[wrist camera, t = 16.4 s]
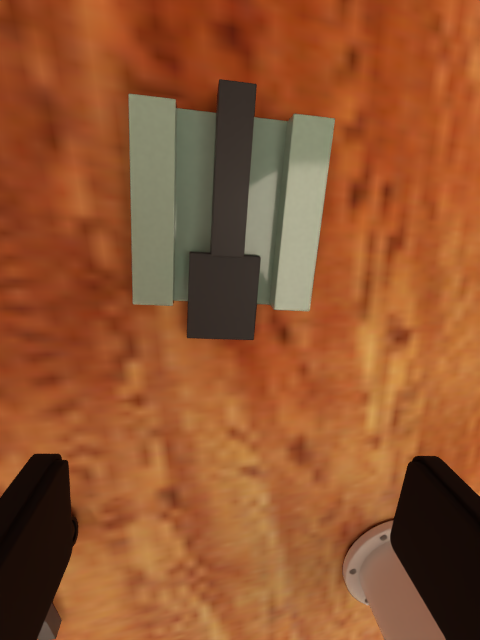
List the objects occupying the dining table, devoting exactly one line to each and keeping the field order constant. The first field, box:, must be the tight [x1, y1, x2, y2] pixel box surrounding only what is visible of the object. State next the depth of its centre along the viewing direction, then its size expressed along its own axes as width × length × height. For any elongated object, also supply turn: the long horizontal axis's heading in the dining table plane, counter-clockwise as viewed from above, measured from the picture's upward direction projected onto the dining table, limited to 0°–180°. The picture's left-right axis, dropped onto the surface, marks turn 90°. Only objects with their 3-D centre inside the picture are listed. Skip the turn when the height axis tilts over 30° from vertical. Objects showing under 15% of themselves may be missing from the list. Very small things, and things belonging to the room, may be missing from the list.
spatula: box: [187, 79, 261, 340], centre depth 25 cm, size 18×6×3 cm, turn 176°
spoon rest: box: [129, 94, 335, 311], centre depth 25 cm, size 14×14×2 cm
